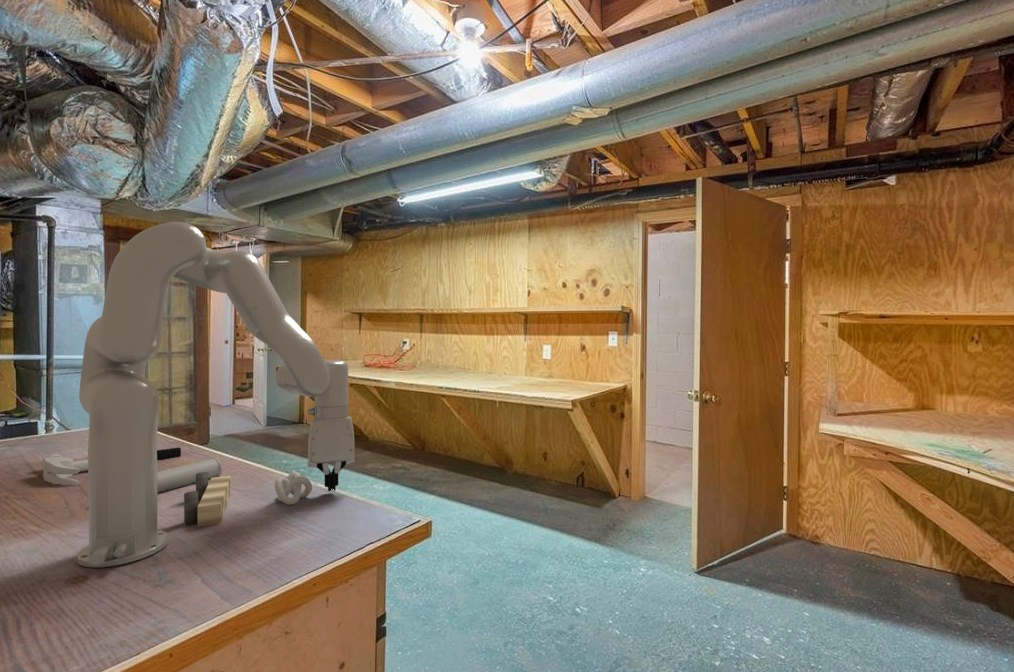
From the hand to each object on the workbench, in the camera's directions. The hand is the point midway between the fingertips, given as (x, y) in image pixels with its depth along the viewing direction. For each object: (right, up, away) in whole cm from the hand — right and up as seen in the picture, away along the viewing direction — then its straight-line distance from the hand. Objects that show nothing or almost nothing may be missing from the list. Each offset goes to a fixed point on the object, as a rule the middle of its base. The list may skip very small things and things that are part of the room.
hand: (331, 489), depth 115 cm
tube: (-41, -1, +3) cm, 41 cm away
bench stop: (-23, -1, -10) cm, 25 cm away
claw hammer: (-66, -1, +20) cm, 69 cm away
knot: (-8, -2, -4) cm, 9 cm away
